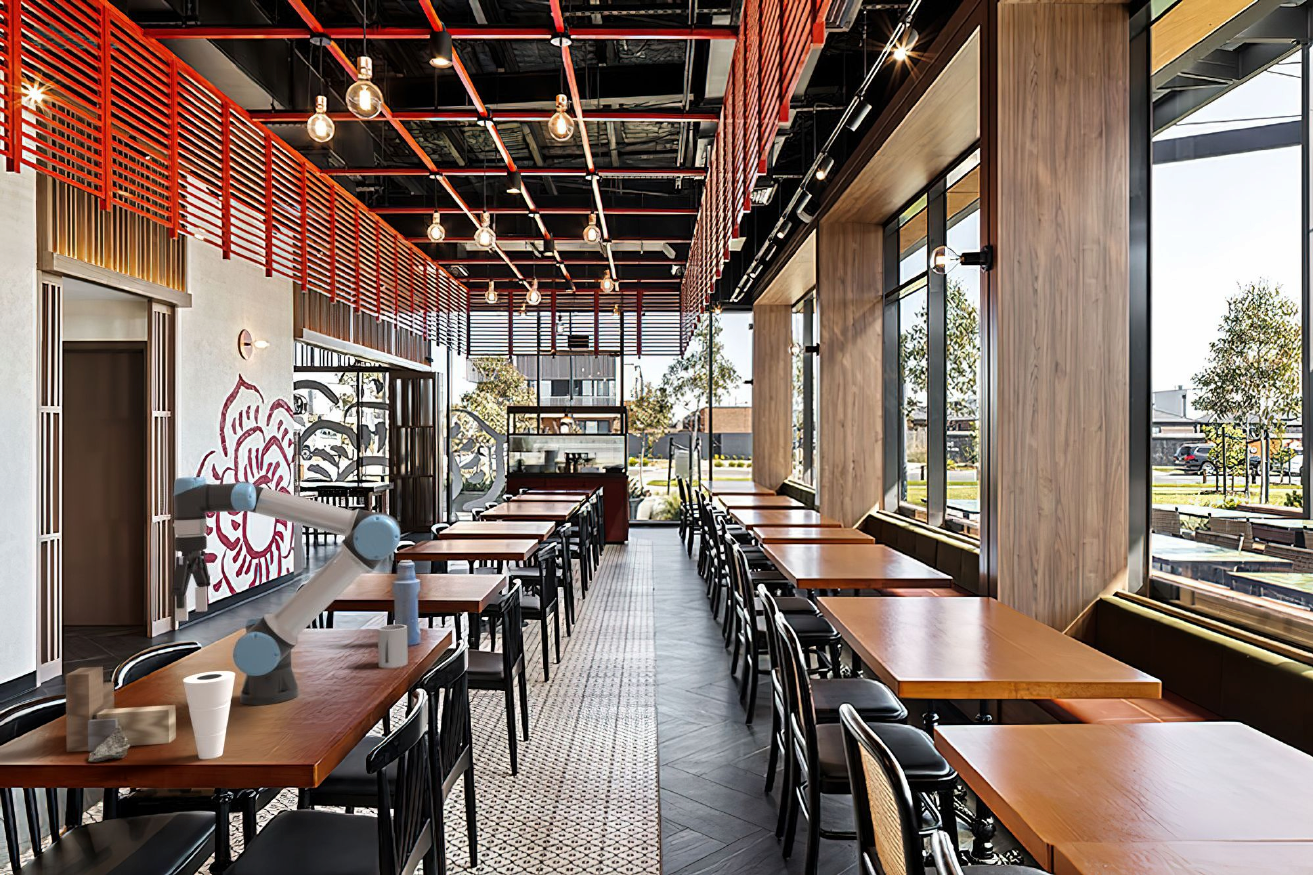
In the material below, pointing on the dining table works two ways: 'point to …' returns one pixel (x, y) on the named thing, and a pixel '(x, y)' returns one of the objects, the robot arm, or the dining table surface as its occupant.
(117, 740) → the rock sample
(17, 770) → the dining table surface
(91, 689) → the post
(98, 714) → the rail
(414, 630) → the bottle
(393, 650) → the cup
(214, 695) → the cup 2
